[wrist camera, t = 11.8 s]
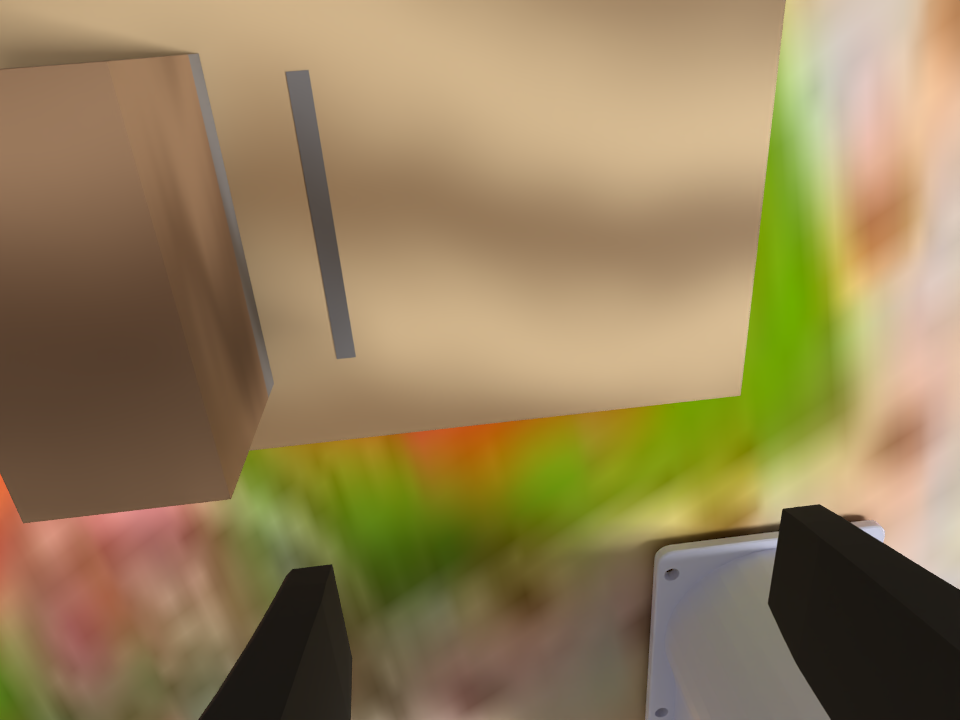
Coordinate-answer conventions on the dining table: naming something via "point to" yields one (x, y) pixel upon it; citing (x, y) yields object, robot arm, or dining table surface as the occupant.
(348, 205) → the pine board
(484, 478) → the dining table surface
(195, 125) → the block
